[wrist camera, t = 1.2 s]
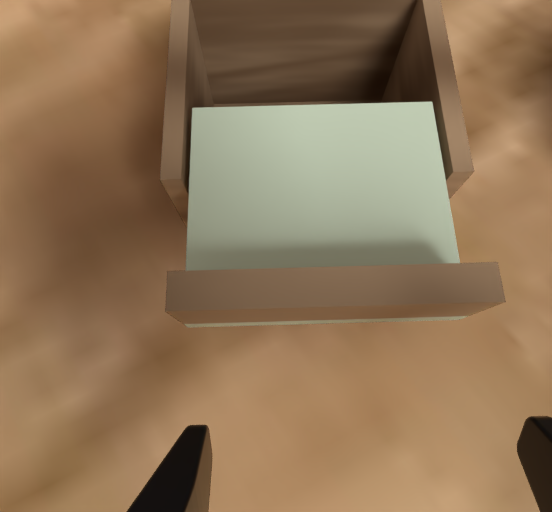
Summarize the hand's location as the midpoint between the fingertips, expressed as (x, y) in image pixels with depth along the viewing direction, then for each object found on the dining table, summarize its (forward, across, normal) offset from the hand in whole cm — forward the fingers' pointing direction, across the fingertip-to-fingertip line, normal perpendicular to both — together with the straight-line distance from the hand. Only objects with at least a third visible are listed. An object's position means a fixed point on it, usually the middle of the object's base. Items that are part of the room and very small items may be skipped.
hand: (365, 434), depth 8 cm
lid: (+9, 0, -1) cm, 10 cm away
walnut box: (+19, 0, 0) cm, 19 cm away
